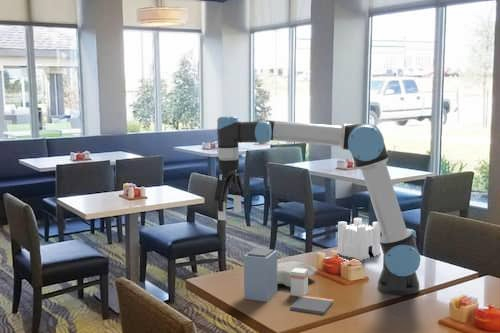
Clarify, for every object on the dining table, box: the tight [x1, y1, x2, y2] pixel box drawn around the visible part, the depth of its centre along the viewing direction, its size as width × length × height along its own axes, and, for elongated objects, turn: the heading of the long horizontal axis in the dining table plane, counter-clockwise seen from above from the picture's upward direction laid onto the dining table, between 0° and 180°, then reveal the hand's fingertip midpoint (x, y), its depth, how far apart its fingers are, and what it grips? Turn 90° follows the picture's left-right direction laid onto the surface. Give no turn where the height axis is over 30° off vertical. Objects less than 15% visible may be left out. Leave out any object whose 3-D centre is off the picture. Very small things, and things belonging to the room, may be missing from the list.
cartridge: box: [290, 268, 309, 297], centre depth 214 cm, size 5×5×9 cm
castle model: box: [337, 217, 382, 261], centre depth 263 cm, size 14×14×15 cm
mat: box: [289, 295, 335, 315], centre depth 202 cm, size 12×12×1 cm
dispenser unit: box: [243, 247, 278, 303], centre depth 212 cm, size 10×10×17 cm
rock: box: [277, 260, 318, 288], centre depth 227 cm, size 19×7×25 cm
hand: (230, 216), depth 214 cm, fingers open, 13 cm apart
